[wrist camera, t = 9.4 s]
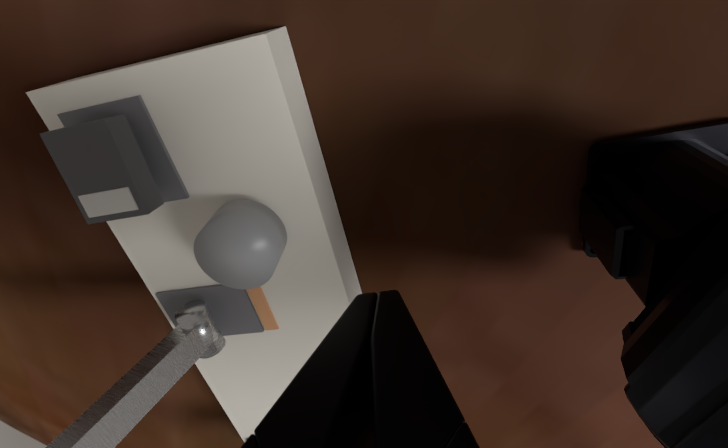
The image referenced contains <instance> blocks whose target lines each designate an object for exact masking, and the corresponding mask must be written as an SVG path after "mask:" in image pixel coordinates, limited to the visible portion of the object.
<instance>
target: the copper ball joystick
mask: <svg viewBox="0 0 728 448" xmlns="http://www.w3.org/2000/svg"><path fill="white" fill-rule="evenodd" d="M175 319H176V321H177V323H178V324H179V325H178V326H177V327H176V328H174V329H173V330H172V331H171V332H170V333H169V334H168V335H167V336H166V337H165V338H164V339H163V340H161V341H160V342H159V343H158V344H157V345H156V346H155V347H154V348H153V349H152V350H151V351H150V352H149V353H147V354H146V355H145V356H144V357H143V358H142V359H141V360H140V361H139V362H138V363H137V364H136V365H134V366H133V367H132V368H131V369H130V370H129V371H128V372H127V373H126V374H125V375H124V376H123V377H122V378H120V379H119V380H118V381H117V382H116V383H115V384H114V385H113V386H112V387H111V388H110V389H109V390H107V391H106V392H105V393H104V394H103V395H102V396H101V397H100V398H99V399H98V400H97V401H96V402H95V403H93V404H92V405H91V406H90V407H89V408H88V409H87V410H86V411H85V412H84V413H83V414H82V415H80V416H79V417H78V418H77V419H76V420H75V421H74V422H73V423H72V424H71V425H70V426H69V427H68V428H66V429H65V430H64V431H63V432H62V433H61V434H60V435H59V436H58V437H57V438H56V439H55V440H53V441H52V442H51V443H50V444H49V445H48V446H47V447H46V448H115V447H116V445H117V444H118V443H119V442H120V441H121V440H122V439H123V438H124V437H125V436H126V435H127V434H128V433H129V432H130V431H131V430H132V429H133V428H134V426H135V425H136V424H137V423H138V422H139V421H140V420H141V419H142V418H143V417H144V416H145V415H146V414H147V413H148V412H149V411H150V410H151V408H152V407H153V406H154V405H155V404H156V403H157V402H158V401H159V400H160V399H161V398H162V397H163V396H164V395H165V394H166V393H167V392H168V391H169V389H170V388H171V387H172V386H173V385H174V384H175V383H176V382H177V381H178V380H179V379H180V378H181V377H182V376H183V375H184V374H185V373H186V372H187V370H188V369H189V368H190V367H191V366H192V365H193V364H194V363H195V362H196V361H197V360H198V359H199V358H202V359H207V358H210V357H213V356H215V355H216V354H218V353H219V352H220V351H221V350H222V349H223V348H224V346H225V343H226V341H225V338H224V336H223V335H222V333H221V331H220V329H219V327H218V325H217V324H216V322H215V320H214V318H213V316H212V314H211V313H210V311H209V309H208V307H207V305H206V303H205V302H204V301H203V300H193V301H190V302H188V303H186V304H184V305H183V306H181V307H180V308H179V309H178V310H177V312H176V313H175Z"/></svg>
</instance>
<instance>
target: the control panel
mask: <svg viewBox="0 0 728 448" xmlns="http://www.w3.org/2000/svg"><path fill="white" fill-rule="evenodd" d="M26 94H27V96H28V97H29V99H30V100H31V102H32V104H33V105H34V107H35V108H36V110H37V112H38V113H39V115H40V116H41V118H42V120H43V121H44V123H45V124H46V126H47V128H48V129H49V131H51V130H55V129H59V128H62V127H67V126H71V125H76V124H80V123H85V122H89V121H94V120H98V119H103V118H107V117H112V116H116V115H121V114H125V116H126V118H127V121H128V123H129V125H130V127H131V130H132V132H133V134H134V136H135V139H136V141H137V143H138V146H139V148H140V150H141V152H142V155H143V157H144V159H145V161H146V164H147V166H148V168H149V170H150V173H151V175H152V177H153V180H154V182H155V184H156V186H157V189H158V191H159V193H160V195H161V198H162V200H163V202H164V204H163V205H161V206H160V207H158V208H157V209H155V210H154V211H152V212H151V213H150V214H148V215H142V216H136V217H130V218H124V219H118V220H112V221H106V222H107V224H108V225H109V227H110V228H111V230H112V232H113V233H114V235H115V236H116V238H117V240H118V241H119V243H120V244H121V246H122V248H123V249H124V251H125V252H126V254H127V256H128V257H129V259H130V260H131V262H132V264H133V265H134V267H135V268H136V270H137V272H138V273H139V275H140V276H141V278H142V280H143V281H144V283H145V284H146V286H147V288H148V289H149V291H150V292H151V294H152V296H153V297H154V299H155V300H156V302H157V304H158V305H159V307H160V308H161V310H162V312H163V313H164V315H165V316H166V318H167V320H168V321H169V323H170V324H171V326H172V328H173V329H174V328H176V327H177V326H178V325H179V324H178V323H177V321H176V319H175V313H176V312H177V310H178V309H179V308H180V307H181V306H183V305H184V304H186V303H188V302H190V301H193V300H203V301H204V302H205V303H206V305H207V307H208V309H209V311H210V313H211V314H212V316H213V318H214V320H215V322H216V324H217V325H218V327H219V329H220V331H221V333H222V335H223V336H224V338H225V341H226V343H225V346H224V348H223V349H222V350H221V351H220V352H219V353H218V354H216V355H215V356H213V357H210V358H207V359H202V358H199V359H198V360H197V361H196V362H195V364H196V366H197V368H198V369H199V371H200V372H201V374H202V376H203V377H204V379H205V380H206V382H207V384H208V385H209V387H210V388H211V390H212V392H213V393H214V395H215V396H216V398H217V400H218V401H219V403H220V404H221V406H222V408H223V409H224V411H225V412H226V414H227V416H228V417H229V419H230V420H231V422H232V424H233V425H234V427H235V428H236V430H237V432H238V433H239V435H240V436H241V438H242V440H243V441H244V443H245V441H246V440H247V439H248V437H249V436H250V435H251V434H254V435H255V433H254V430H255V428H256V427H257V426H258V425H259V423H260V422H261V421H262V419H263V418H264V417H265V415H266V414H267V413H268V411H269V410H270V409H271V407H272V406H273V405H274V403H275V402H276V401H277V400H278V398H279V397H280V396H281V394H282V393H283V392H284V390H285V389H286V388H287V386H288V385H289V384H290V382H291V381H292V380H293V378H294V377H295V376H296V374H297V373H298V372H299V371H300V369H301V368H302V367H303V365H304V364H305V363H306V361H307V360H308V359H309V357H310V356H311V355H312V353H313V352H314V351H315V349H316V348H317V347H318V346H319V344H320V343H321V342H322V340H323V339H324V338H325V336H326V335H327V334H328V332H329V331H330V330H331V328H332V327H333V326H334V324H335V323H336V322H337V320H338V319H339V318H340V317H341V315H342V314H343V313H344V311H345V310H346V309H347V307H348V306H349V305H350V303H351V302H352V301H353V299H354V298H355V297H356V296H357V295H359V294H362V292H361V288H360V285H359V281H358V278H357V274H356V271H355V267H354V264H353V260H352V257H351V253H350V250H349V246H348V243H347V239H346V236H345V232H344V229H343V225H342V222H341V218H340V215H339V211H338V208H337V204H336V201H335V197H334V194H333V190H332V187H331V183H330V180H329V176H328V173H327V169H326V166H325V162H324V159H323V155H322V152H321V148H320V145H319V141H318V138H317V134H316V131H315V127H314V124H313V120H312V117H311V113H310V110H309V106H308V102H307V99H306V95H305V92H304V88H303V85H302V81H301V78H300V74H299V71H298V67H297V64H296V60H295V57H294V53H293V50H292V46H291V43H290V39H289V36H288V32H287V29H286V26H284V27H280V28H276V29H272V30H268V31H264V32H259V33H255V34H251V35H247V36H243V37H239V38H235V39H231V40H227V41H223V42H219V43H215V44H211V45H207V46H203V47H199V48H195V49H191V50H187V51H183V52H179V53H174V54H170V55H166V56H162V57H158V58H154V59H150V60H146V61H142V62H138V63H134V64H130V65H126V66H122V67H118V68H114V69H110V70H106V71H102V72H98V73H94V74H89V75H85V76H81V77H77V78H74V79H70V80H67V81H63V82H60V83H56V84H53V85H49V86H46V87H43V88H39V89H36V90H32V91H29V92H26ZM238 199H247V200H252V201H256V202H259V203H261V204H263V205H265V206H267V207H269V208H270V209H271V210H273V211H274V212H275V213H276V214H277V215H278V216H279V218H280V219H281V220H282V222H283V224H284V226H285V228H286V232H287V243H286V246H285V249H284V251H283V253H282V256H281V258H280V260H279V262H278V265H277V267H276V269H275V271H274V273H273V275H272V277H271V278H270V280H269V281H267V282H266V283H265V284H263V285H262V286H260V287H257V288H253V289H245V290H243V289H234V288H230V287H227V286H224V285H222V284H220V283H218V282H216V281H214V280H213V279H212V278H210V277H209V276H208V275H207V274H206V273H205V272H204V271H203V270H202V269H201V267H200V266H199V264H198V263H197V261H196V258H195V255H194V241H195V238H196V236H197V235H198V233H199V232H200V231H201V229H202V228H203V227H204V226H205V225H206V223H207V222H208V221H209V220H210V218H211V217H212V216H213V215H214V214H215V212H216V211H217V210H218V209H219V208H220V207H221V206H222V205H223V204H225V203H227V202H229V201H233V200H238Z"/></svg>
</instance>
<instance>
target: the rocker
mask: <svg viewBox="0 0 728 448" xmlns="http://www.w3.org/2000/svg"><path fill="white" fill-rule="evenodd" d="M40 136H41V138H42V140H43V142H44V144H45V146H46V148H47V149H48V151H49V153H50V155H51V157H52V159H53V161H54V162H55V164H56V166H57V168H58V170H59V172H60V174H61V176H62V177H63V179H64V181H65V183H66V185H67V187H68V189H69V190H70V192H71V194H72V196H73V198H74V200H75V202H76V204H77V205H78V207H79V209H80V211H81V213H82V215H83V217H84V218H85V220H86V222H87V224H93V223H99V222H106V221H112V220H118V219H124V218H130V217H136V216H142V215H148V214H150V213H151V212H152V211H154V210H155V209H157V208H158V207H160V206H161V205H163V204H164V202H163V200H162V198H161V195H160V193H159V191H158V189H157V186H156V184H155V182H154V180H153V177H152V175H151V173H150V170H149V168H148V166H147V164H146V161H145V159H144V157H143V155H142V152H141V150H140V148H139V146H138V143H137V141H136V139H135V136H134V134H133V132H132V130H131V127H130V125H129V123H128V121H127V118H126V116H125V114H121V115H116V116H112V117H107V118H103V119H98V120H94V121H89V122H85V123H80V124H76V125H71V126H67V127H62V128H59V129H55V130H51V131H47V132H43V133H40Z"/></svg>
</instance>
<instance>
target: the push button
mask: <svg viewBox="0 0 728 448" xmlns="http://www.w3.org/2000/svg"><path fill="white" fill-rule="evenodd" d="M286 243H287V232H286V228H285V226H284V224H283V222H282V220H281V219H280V218H279V216H278V215H277V214H276V213H275V212H274V211H273V210H271V209H270V208H269V207H267V206H265V205H263V204H261V203H259V202H256V201H252V200H247V199H238V200H233V201H229V202H227V203H225V204H223V205H222V206H221V207H220V208H219V209H218V210H217V211H216V212H215V214H214V215H213V216H212V217H211V218H210V220H209V221H208V222H207V223H206V225H205V226H204V227H203V228H202V229H201V231H200V232H199V233H198V235H197V236H196V238H195V241H194V255H195V258H196V261H197V263H198V264H199V266H200V267H201V269H202V270H203V271H204V272H205V273H206V274H207V275H208V276H209V277H210V278H212V279H213V280H214V281H216V282H218V283H220V284H222V285H224V286H227V287H230V288H234V289H243V290H245V289H253V288H257V287H260V286H262V285H263V284H265V283H266V282H267V281H269V280H270V278H271V277H272V275H273V273H274V271H275V269H276V267H277V265H278V262H279V260H280V258H281V256H282V253H283V251H284V249H285V246H286Z"/></svg>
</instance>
